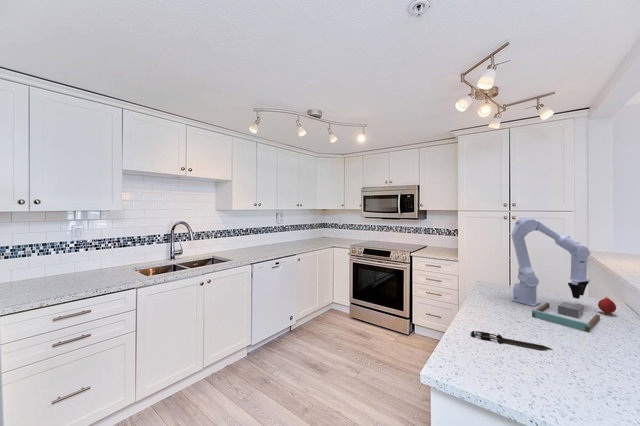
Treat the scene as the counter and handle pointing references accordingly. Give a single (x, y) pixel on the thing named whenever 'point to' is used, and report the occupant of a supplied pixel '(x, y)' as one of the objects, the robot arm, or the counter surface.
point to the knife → (508, 340)
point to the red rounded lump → (607, 305)
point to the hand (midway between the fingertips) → (578, 296)
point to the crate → (570, 310)
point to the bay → (564, 319)
